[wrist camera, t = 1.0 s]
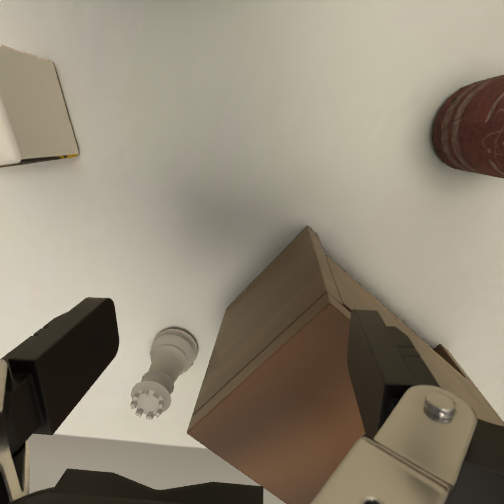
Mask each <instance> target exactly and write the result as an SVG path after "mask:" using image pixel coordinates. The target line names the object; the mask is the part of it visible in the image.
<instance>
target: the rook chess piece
mask: <svg viewBox="0 0 504 504" xmlns="http://www.w3.org/2000/svg"><path fill="white" fill-rule="evenodd" d="M197 353H198V350H197V344H196V343H195V341H194V339H193V338H192V337H191V336H190V335H189V334H187V333H186V332H185V331H182V330H179V329H167V330H165V331H162V332H160V333H159V334H158V335H157V336H156V338H155V340H154V342H153V344H152V347H151V351H150V355H151V362H152V363H151V366H150V369H149V371H148V372H147V373H145V375H144V376H143V377H142V380H141V382H140V383H137V384H136V385H135V386H134V387H133V388H132V392H131V397H132V402H131V408H132V409H135V408H137V411H136V413H135V414H136V415H137V416H139V417H141V415H142V413H144V414H147V416H146V419H153V417H154V415H155V416H156V417H159V416H160V415H161V413H162V412H164V411H165V410H167V409H168V408H169V406H170V403H171V397H170V394H171V393H172V392H173V389H174V382H175V380H176V379H177V377H178V376H179V375H181V374H182V373H183V372H186V371H187V370H188V369H189V368H190V367H191V366H192V365H193V362H194V360H195V359H196V356H197Z"/></svg>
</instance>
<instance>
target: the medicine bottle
mask: <svg viewBox="0 0 504 504" xmlns="http://www.w3.org/2000/svg"><path fill="white" fill-rule="evenodd" d="M78 154H79V151H78V148H77V144H76V141H75V137H74V134H73V130H72V127H71V123H70V120H69V116H68V113H67V109H66V106H65V102H64V99H63V95H62V92H61V88H60V85H59V81H58V78H57V74H56V71H55V67H54V65H53V63H52V62H51V61H49V60H47V59H44V58H40V57H37V56H34V55H31V54H28V53H25V52H22V51H19V50H16V49H12V48H9V47H6V46H3V45H0V168H1V167H9V166H15V165H22V164H29V163H36V162H43V161H50V160H57V159H64V158H71V157H76V156H78Z"/></svg>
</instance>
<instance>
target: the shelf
mask: <svg viewBox="0 0 504 504" xmlns="http://www.w3.org/2000/svg"><path fill="white" fill-rule="evenodd" d="M353 309H363V310H377V311H378V312H379V314H380V316H381V317H382V319H383V321H384V323H385V325H386V326H395V327H397V328H398V329H399V330H401V331H402V332H403V333H405V334H406V335H408V337H409V338H410V340H411V341H412V343H413V345H414V346H415V349H417V351H418V352H419V354H420V356H421V358H422V359H423V360H424V362H425V363H426V365H427V367H428V368H429V370H430V371H431V373H432V374H433V376H434V378H435V379H436V381H437V382H438V384H439V386H440V387H441V388H444V389H446V390H449V391H451V392H453V393H455V394H457V395H458V396H460V397H461V398H463V399H464V400H465V401H466V402H467V403H469V405H470V406H471V407H472V408H473V410H474V411H475V413H476V415H477V418H478V419H481V420H483V421H486V422H489V423H493V424H496V425H500V426H503V427H504V422H503V421H502V419H501V418H500V417H499V416H498V414H497V413H496V412H495V410H494V409H493V408H492V406H491V405H490V404H489V403H488V401H487V400H486V399H485V397H484V396H483V395H482V394H481V392H480V391H479V390H478V388H477V387H476V386H475V385H474V383H473V382H472V381H471V379H470V378H469V377H468V376H467V374H466V373H465V372H464V370H463V369H462V368H461V366H460V365H459V364H458V363H457V361H456V360H455V359H454V357H453V356H452V355H451V354H450V352H449V351H448V350H447V349H445V348H444V347H443V346H442V345H439V346H438V347H436V348H435V349H434V350H433V349H432V348H431V347H430V346H428V345H427V344H426V343H425V342H424V341H423V340H422V339H421V338H419V337H418V336H417V335H416V334H415V333H414V332H413V331H411V330H410V329H409V328H408V327H407V326H406V325H405V324H404V323H402V322H401V321H400V320H399V319H398V318H397V317H396V316H395V315H393V314H392V313H391V312H390V311H389V310H388V309H387V308H385V307H384V306H383V305H382V304H381V303H380V302H379V301H378V300H376V299H375V298H374V297H373V296H372V295H371V294H370V293H368V292H367V291H366V290H365V289H364V288H363V287H362V286H361V285H359V284H358V283H357V282H356V281H355V280H354V279H353V278H352V277H350V276H349V275H348V274H347V273H346V272H345V271H344V270H342V269H341V268H340V267H339V266H338V265H337V264H336V263H335V262H333V261H332V260H331V259H330V258H329V257H328V256H327V255H325V254H324V251H323V248H322V246H321V243H320V240H319V237H318V235H317V233H315V232H314V231H313V230H312V229H311V228H310V227H309V226H307V227H306V228H305V229H304V230H303V231H302V232H301V233H300V234H299V235H298V236H297V237H296V238H295V239H294V240H293V241H292V242H291V243H290V244H289V245H288V246H287V247H286V248H285V249H284V250H283V251H282V252H281V253H280V254H279V255H278V256H277V257H276V259H275V260H274V261H273V262H272V263H271V264H270V265H269V266H268V267H267V268H266V269H265V270H264V271H263V272H262V273H261V274H260V275H259V276H258V277H257V278H256V279H255V280H254V281H253V282H252V283H251V284H250V285H249V286H248V287H247V288H246V289H245V290H244V291H243V292H242V294H241V295H240V296H239V297H238V298H237V299H236V300H235V301H234V302H233V303H232V304H231V305H230V306H229V307H228V308H227V309H226V311H225V314H224V317H223V321H222V324H221V327H220V330H219V333H218V336H217V339H216V343H215V346H214V349H213V352H212V355H211V358H210V361H209V364H208V368H207V371H206V374H205V377H204V380H203V383H202V386H201V390H200V393H199V396H198V399H197V402H196V405H195V408H194V412H193V415H192V418H191V421H190V424H189V427H188V430H187V434H189V435H190V436H191V437H193V438H194V439H196V440H197V441H198V442H200V443H201V444H203V445H204V446H206V447H207V448H208V449H210V450H211V451H213V452H214V453H215V454H217V455H218V456H220V457H221V458H223V459H224V460H225V461H227V462H228V463H230V464H231V465H232V466H234V467H235V468H237V469H238V470H240V471H241V472H242V473H244V474H245V475H247V476H248V477H250V478H251V479H252V480H254V481H255V482H256V483H258V484H259V485H261V486H263V488H265V489H266V490H268V491H269V492H271V493H272V494H274V495H275V496H276V497H278V498H279V499H280V500H282V501H283V502H285V503H286V504H311V502H312V501H313V500H314V498H315V497H316V495H317V494H318V493H319V491H320V490H321V489H322V487H323V486H324V485H325V483H326V482H327V481H328V479H329V478H330V477H331V475H332V474H333V473H334V471H335V470H336V469H337V467H338V466H339V465H340V463H341V462H342V460H343V459H344V458H345V456H346V455H347V454H348V452H349V451H350V450H351V448H352V447H353V446H354V444H355V443H356V442H357V440H358V439H359V438H360V437H361V436H363V435H366V434H365V430H364V426H363V423H362V419H361V416H360V412H359V408H358V405H357V401H356V397H355V394H354V390H353V386H352V383H351V379H350V375H349V372H348V365H347V349H348V339H349V329H350V319H351V313H352V310H353Z"/></svg>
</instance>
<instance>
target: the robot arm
mask: <svg viewBox="0 0 504 504" xmlns="http://www.w3.org/2000/svg"><path fill="white" fill-rule="evenodd" d="M118 347H119V334H118V327H117V320H116V313H115V306H114V302H113V300H112V299H110V298H93V297H88V298H86V299H84V300H83V301H82V302H80V303H79V304H78V305H77V306H75V307H74V308H73V309H71V310H70V311H69V312H67V313H65V314H62V315H60V316H58V317H56V318H54V319H53V320H52V321H50V322H49V323H48V324H46V325H45V326H44V327H43V329H40V330H38V331H37V332H36V333H34V335H33V336H30V337H29V338H28V339H26V340H25V341H24V342H22V343H21V344H20V345H19V346H17V347H16V348H15V349H13V350H12V351H11V352H9V353H8V354H7V355H5V356H4V357H3V358H1V359H0V504H263V486H252V485H242V484H241V485H240V484H230V483H220V482H219V483H218V482H209V483H204V484H197V485H190V486H184V487H178V488H172V489H166V490H155V489H152V488H150V487H147V486H145V485H142V484H140V483H137V482H135V481H132V480H130V479H128V478H125V477H123V476H120V475H118V474H115V473H111V472H100V471H99V472H98V471H89V470H78V469H67V470H66V471H65V473H64V474H63V475H62V477H61V478H60V480H59V481H58V483H57V484H56V486H55V487H52V488H48V489H44V490H40V491H37V492H34V493H31V494H29V445H28V441H27V439H28V438H29V437H30V436H31V435H32V433H33V434H46V435H53V434H54V432H55V431H56V430H57V429H58V427H59V426H60V425H61V424H62V422H63V421H64V420H65V419H66V417H67V416H68V415H69V414H70V412H71V411H72V410H73V409H74V407H75V406H76V405H77V404H78V402H79V401H80V400H81V399H82V397H83V396H84V395H85V394H86V392H87V391H88V390H89V389H90V387H91V386H92V385H93V384H94V382H95V381H96V380H97V379H98V377H99V376H100V375H101V374H102V372H103V371H104V370H105V369H106V367H107V366H108V365H109V364H110V362H111V361H112V360H113V359H114V357H115V356H116V354H117V351H118ZM347 365H348V372H349V375H350V379H351V383H352V386H353V390H354V394H355V397H356V401H357V405H358V408H359V412H360V416H361V419H362V423H363V426H364V430H365V434H366V435H363V436H361V437H360V438H359V439H358V440H357V442H356V443H355V444H354V446H353V447H352V448H351V450H350V451H349V452H348V454H347V455H346V456H345V458H344V459H343V460H342V462H341V463H340V465H339V466H338V467H337V469H336V470H335V471H334V473H333V474H332V475H331V477H330V478H329V479H328V481H327V482H326V483H325V485H324V486H323V487H322V489H321V490H320V491H319V493H318V494H317V495H316V497H315V498H314V500H313V501H312V502H311V504H504V427H503V426H500V425H496V424H493V423H489V422H486V421H483V420H481V419H478V418H477V415H476V413H475V411H474V410H473V408H472V407H471V406H470V405H469V403H467V402H466V401H465V400H464V399H463V398H461V397H460V396H458V395H457V394H455V393H453V392H451V391H449V390H446V389H444V388H441V387H440V386H439V384H438V382H437V381H436V379H435V378H434V376H433V374H432V373H431V371H430V370H429V368H428V367H427V365H426V363H425V362H424V360H423V359H422V358H421V356H420V354H419V352H418V351H417V349H415V346H414V345H413V343H412V341H411V340H410V338H409V337H408V335H406V334H405V333H403V332H402V331H401V330H399V329H398V328H397V327H395V326H386V325H385V323H384V321H383V319H382V317H381V316H380V314H379V312H378V311H377V310H363V309H353V310H352V313H351V319H350V329H349V339H348V349H347Z"/></svg>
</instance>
